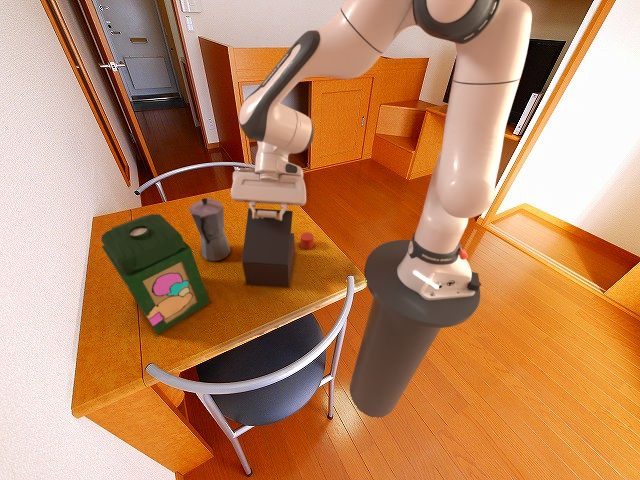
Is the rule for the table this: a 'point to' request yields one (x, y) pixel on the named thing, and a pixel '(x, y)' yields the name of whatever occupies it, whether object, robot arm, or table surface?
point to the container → (156, 269)
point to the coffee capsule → (307, 240)
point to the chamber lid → (267, 237)
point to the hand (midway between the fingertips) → (267, 219)
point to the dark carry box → (270, 271)
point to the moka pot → (211, 228)
